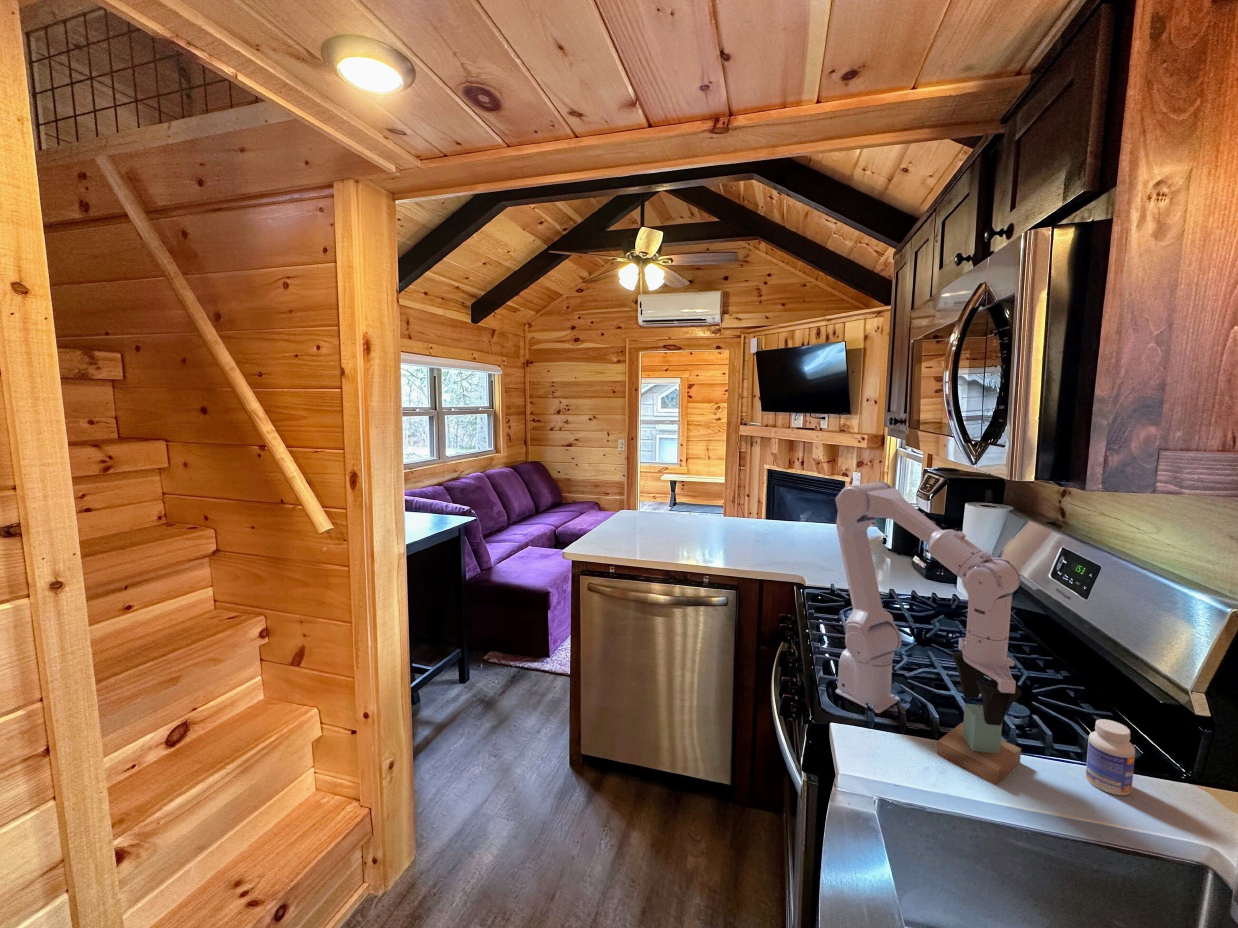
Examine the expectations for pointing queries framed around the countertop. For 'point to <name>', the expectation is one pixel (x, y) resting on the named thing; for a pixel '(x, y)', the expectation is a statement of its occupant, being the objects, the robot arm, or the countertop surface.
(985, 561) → the robot arm
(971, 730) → the gray-green block
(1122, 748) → the pill bottle
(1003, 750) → the walnut block
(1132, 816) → the countertop surface
